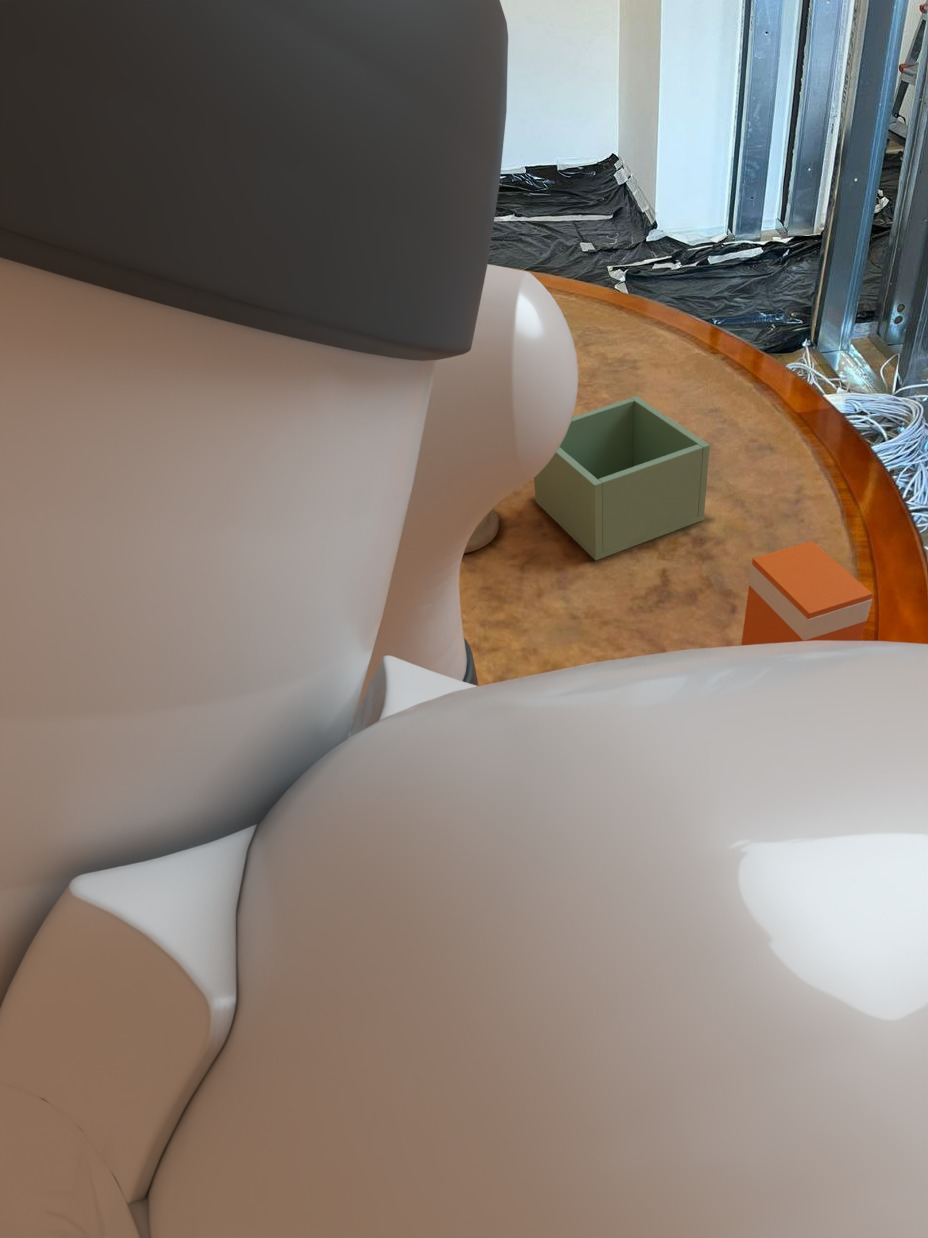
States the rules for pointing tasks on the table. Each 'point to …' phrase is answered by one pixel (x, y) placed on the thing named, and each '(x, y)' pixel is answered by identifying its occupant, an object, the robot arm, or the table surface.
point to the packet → (803, 599)
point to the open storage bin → (624, 478)
